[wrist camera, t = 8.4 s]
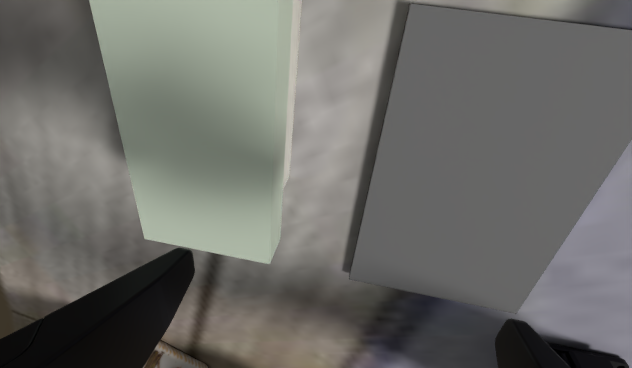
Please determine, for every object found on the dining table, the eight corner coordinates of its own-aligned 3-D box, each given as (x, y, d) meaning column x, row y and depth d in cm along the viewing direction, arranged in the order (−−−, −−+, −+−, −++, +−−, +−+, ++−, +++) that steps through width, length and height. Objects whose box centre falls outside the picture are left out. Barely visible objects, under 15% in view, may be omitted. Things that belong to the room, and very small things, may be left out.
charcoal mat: (513, 306, 23) (516, 313, 23) (349, 273, 24) (349, 279, 24) (686, 37, 14) (698, 38, 13) (409, 3, 15) (410, 3, 14)
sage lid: (280, 238, 18) (269, 264, 16) (166, 216, 18) (144, 238, 17) (297, -84, 11) (281, -101, 9) (109, -101, 11) (61, -120, 10)
